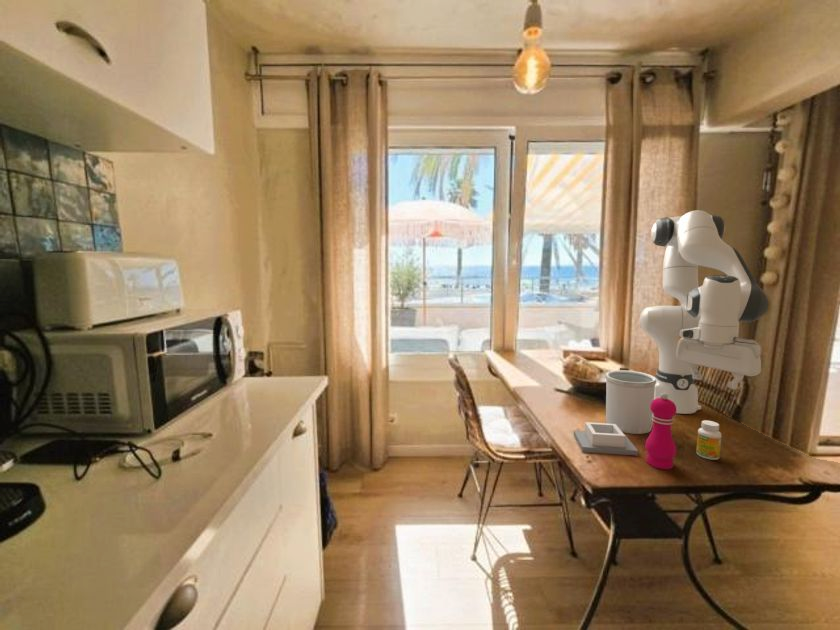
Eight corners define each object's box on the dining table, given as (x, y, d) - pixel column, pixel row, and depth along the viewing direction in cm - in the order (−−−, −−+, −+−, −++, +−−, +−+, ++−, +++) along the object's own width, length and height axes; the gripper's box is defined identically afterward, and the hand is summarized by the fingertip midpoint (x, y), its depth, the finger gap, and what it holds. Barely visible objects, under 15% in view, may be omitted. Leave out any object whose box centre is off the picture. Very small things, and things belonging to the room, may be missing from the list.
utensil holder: (626, 437, 123) (629, 384, 121) (594, 420, 137) (596, 371, 135) (664, 432, 127) (667, 379, 125) (628, 415, 141) (631, 368, 139)
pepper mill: (663, 457, 110) (668, 388, 108) (681, 470, 103) (686, 397, 101) (638, 457, 110) (642, 389, 108) (654, 470, 103) (659, 397, 100)
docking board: (573, 434, 125) (574, 419, 125) (623, 437, 123) (624, 422, 122) (582, 451, 114) (582, 435, 113) (637, 455, 111) (638, 438, 111)
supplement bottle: (694, 455, 111) (696, 423, 110) (698, 449, 114) (700, 417, 113) (717, 462, 107) (720, 428, 106) (721, 455, 111) (724, 422, 109)
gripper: (769, 340, 98) (764, 393, 99) (689, 329, 117) (686, 373, 119) (753, 341, 96) (748, 396, 97) (674, 330, 115) (671, 376, 116)
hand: (713, 383), depth 108 cm, fingers open, 8 cm apart
